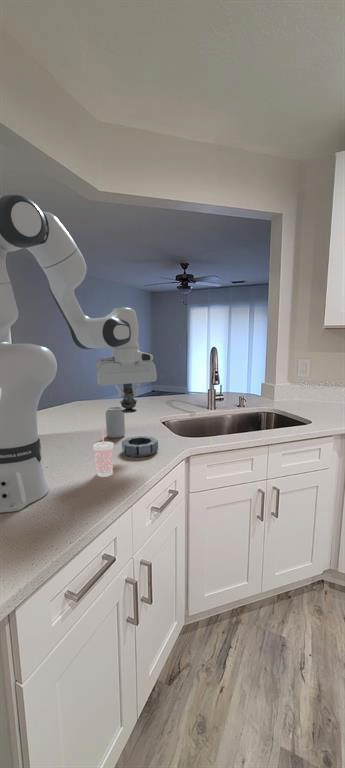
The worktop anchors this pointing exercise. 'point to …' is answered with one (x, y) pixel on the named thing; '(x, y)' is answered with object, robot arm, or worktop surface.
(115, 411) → the can
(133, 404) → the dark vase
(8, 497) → the robot arm
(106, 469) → the beverage cup
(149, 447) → the metal ring collar
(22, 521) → the worktop surface
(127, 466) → the worktop surface
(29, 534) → the worktop surface
